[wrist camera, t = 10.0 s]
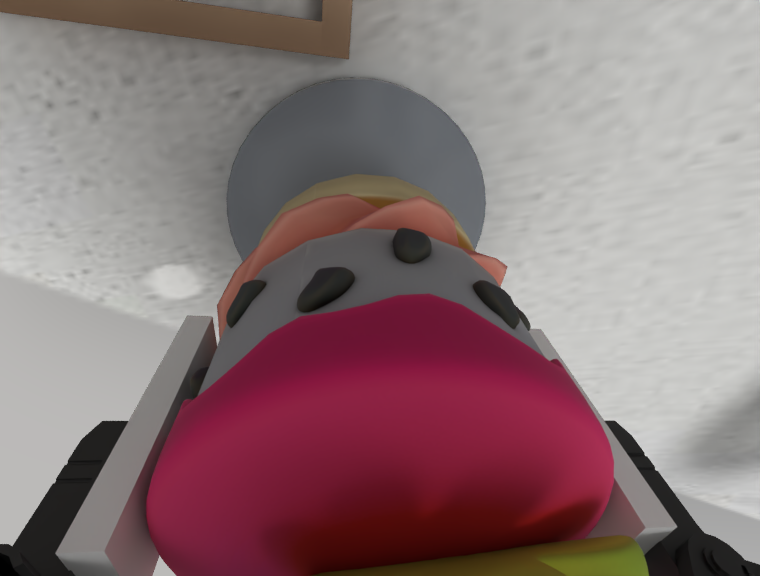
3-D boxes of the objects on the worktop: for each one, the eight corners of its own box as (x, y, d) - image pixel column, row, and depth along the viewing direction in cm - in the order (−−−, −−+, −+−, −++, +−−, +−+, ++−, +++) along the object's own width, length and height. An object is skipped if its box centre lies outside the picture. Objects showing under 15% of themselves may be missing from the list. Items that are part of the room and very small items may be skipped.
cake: (468, 352, 20) (667, 840, 8) (274, 371, 20) (161, 921, 8) (489, 154, 15) (1355, 828, 2) (215, 176, 14) (-713, 1183, 2)
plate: (217, 58, 18) (210, 59, 17) (511, 96, 20) (520, 99, 19) (242, 308, 26) (239, 319, 25) (449, 317, 28) (453, 327, 27)
